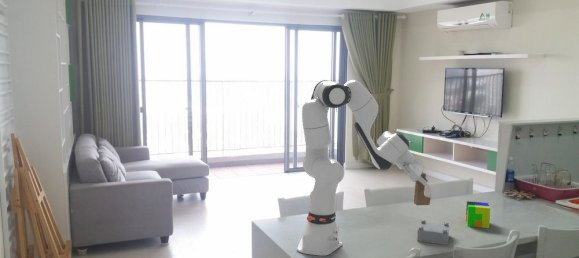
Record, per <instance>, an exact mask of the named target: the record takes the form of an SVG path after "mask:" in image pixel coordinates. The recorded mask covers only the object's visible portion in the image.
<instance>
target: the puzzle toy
mask: <svg viewBox="0 0 579 258" xmlns="http://www.w3.org/2000/svg"><path fill="white" fill-rule="evenodd" d="M465 210H466V212H465V222H466V226H467V227H472V228H473V227H474V228H475V227H476V228H483V229H484V228H487V229H489V228H490V220H491V217H490V216H491V207H490V205H489V202H482V201H481V202H480V201H468V200H467V201H466V209H465Z"/></svg>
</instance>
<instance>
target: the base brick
mask: <svg viewBox="0 0 579 258" xmlns="http://www.w3.org/2000/svg"><path fill="white" fill-rule="evenodd" d="M449 236H450V223H449V222H444V224H442V223H435V222H428V221H427V222H426V220H425V219H420V222H419V226H418V227H417V240H416V241H417V242H422V243H423V242H425V243H432V244H438V245H439V244H440V245H447V246H448V244H449V238H450V237H449Z"/></svg>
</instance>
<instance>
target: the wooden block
mask: <svg viewBox="0 0 579 258" xmlns="http://www.w3.org/2000/svg"><path fill="white" fill-rule="evenodd" d="M426 176H427V173H425V172H422V174H421V177H422V178H423V179H424V180H425V178H427V177H426ZM414 183H415V185H414V196H413V204H414V205H416V206H430V204H431V197H430V196H429V195H425V189H426V185H425V186H424V185H423V184H422V183H421V182H419V181H418V180H417V181H416V182H414Z"/></svg>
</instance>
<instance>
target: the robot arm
mask: <svg viewBox="0 0 579 258" xmlns="http://www.w3.org/2000/svg"><path fill="white" fill-rule="evenodd" d="M344 105H346V106H347V107H348V108H349V109H350V111H351V112H352V115H353V116H354V120H355V121H354V128H355V131H356V133H357V134H358V136H359V139H360V141H361V142H362V143H363V146H364V147H365V150H366V152H367V153H368V155H369V157H370V159H371V162H372V164H373V166H375V168H377V169H378V170H379V171H387V170H389V169H390V168H391V167H392V166H393V165H396V166H397V167H398V169H399V170H403V172H404V173H405V174H406V175H407V177H408V178H409V179H410V180H411V181H412V182H413V183H416V181H417V180H418V181H419V182H421V183H422V184H423V185H424V186H425V187H426V186H427V184H428V181H429V179H428V178H427V177H426V178H425V180H424V179H423V178H422V177H421V174H422V172H423V171H424V167H423V166H422V165H421V164H422V163H420V162H419V160H417V159H416V157H415V155H414V153H412V152H411V151H410V150H409V148H410V141H409V139H407V137H406V136H405V135H404V134H403V133H401V132H395V133H391V132H390V130H389V131H388V130H386V131H384V132H383V133H381V134H380V135H379V137H378V138H377V139H376V144H377V145H378V147H377V145H376V144H375V142H374V140H373V138H372V137H371V129H372V126H373V124H374V122H375V120H376V118H377V116H378V113H379V103H378V102H377V101H376V99H375V97H374V96H373V95H372V94H371V93H370V91H369V90H368V89H367V88H366V87H365V85H363V84H362V83H361V82H359V81H358V80H356V79H351V80H349V81H346V82H345V83H344V84H342V83H340V82H336V81H334V80H325V79H323V80H320V81H319V82H318V83H316V84H315V86H314V87H313V91H312V95H311V97H310V100H308V101H306V102H304V103H303V105H302V107H301V119H302V120H301V121H302V122H301V123H302V129H303V134H304V142H305V157H304V159H303V162H302V169H303V170H304V171H305V173H306V174H307V175H308V176H309V177H311V178H313V179H314V181H315V182H314V186H313V190H311V192H310V193H309V211H308V213H307V217H306V225H305V227H304V231H303V232H302V233H303V235H302V237H301V238H300V240H299V243H298V245H297V248H296V251H297V252H298V253H302V254H306V255H311V256H312V255H313V256H320V257H321V256H328V255H330V254H332V253H333V252H335V251H336V250H338V249H339V248H340V247H342V246H343V242H342V241H340V232H339V230H340V229H339V225H338V224H337V222H336V218H337V217H336V216H337V215H336V209H335V208H336V194H337V191H338V190H337V189H338V186H339V184H340V183H341V182H342V180H343V178H344V177H345V169H344V166H343V165H342V164H341V163H340V162H339V161H337V160H336V159H334V158H332V157H330V156H329V148H330V144H331V142H332V138H331V137H332V136H331V130H330V124H329V123H330V122H329V120H328V113H329V110H330V108H331V109H338V108H341V107H343V106H344ZM423 173H424V172H423Z"/></svg>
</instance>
